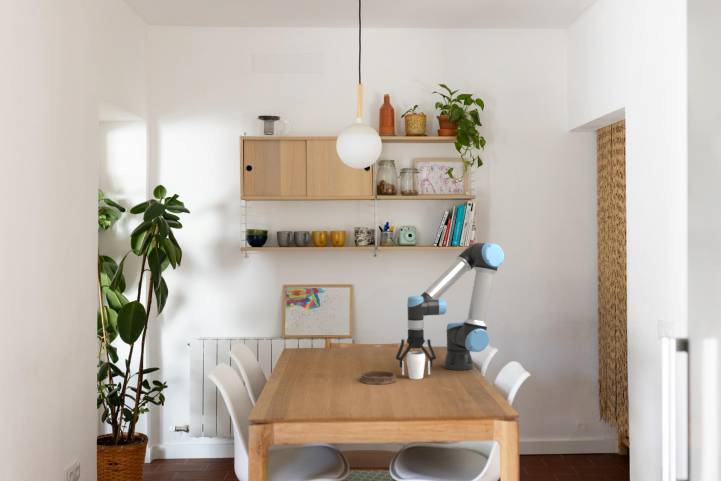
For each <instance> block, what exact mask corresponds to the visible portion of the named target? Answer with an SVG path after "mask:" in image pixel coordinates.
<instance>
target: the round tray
mask: <svg viewBox="0 0 721 481" xmlns="http://www.w3.org/2000/svg"><path fill="white" fill-rule="evenodd" d="M397 381H398V379H397V374H396V373H394V372H392V371H387V370H386V371H385V370H384V371H383V370H376V371H375V370H374V371H373V370H372V371H371V370H370V371H365V372H363V373H361V378H360V382H361V383H362V384H366V385H377V386H378V385H379V386H381V385H383V386H384V385H391V384H395V383H397Z"/></svg>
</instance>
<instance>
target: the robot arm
mask: <svg viewBox="0 0 721 481" xmlns="http://www.w3.org/2000/svg"><path fill="white" fill-rule="evenodd" d="M504 260H505V254H504V250H503V248H501V246H500V245H498V244H497V243H493V242H475V243H473V244H471V245H469V246H467V247H466V248H465V249H464V250H463V251H461V253H459V255H458V256H457V257H456V259H455V261H454V263H452V265H450V266H449V267H448V268H447V269H446V270H445V271H444V272H443V274H442V273H441V275H440V276H439V277H438V278H437V279H436V280H435V281H434V282H433V283H431V285H430V286H429V287H428V288H426V290H425V291H424V292H423V293H421V294H420V295H410V296H408V298H407V305H406V306H407V328H408V329H407V339H403V338H402V339H401V340H400V346H399V348H398V351H397V353H396V356H395V359H396V360H397V361H399V368H401V375H402V376H404V375H405V360H404V359H405V358H406V357H407V353H408V352H410V350H411V349H421V350H422V352H424V353H425V356H426V357H427V358H428V359H427V375H431V368H432V367H433V361H434V360H436V359H437V357H436V355H435V351H434V349H433V347H432V344H431V339H430V338H427V339H425V338H424V337H425V336H424V334H425V332H424V331H425V330H424V322H425V320H424V317H425V316H426V317H427V316H440V315H445V314H446V313H447V309H448V308H447V307H448V305H447V301H446V300H445V299H443V298H442V299H441V297H442V296H443V295H444V294H445V293H446V292H447V291H448V290H449V289H450V288H451V287H452V286H453V285H454V284H456V283H457V281H458V280H460V278H462V277H463V276H464V275H465V273H466V272H470V271H471V270H475V274H474V275H475V276H474V280H473V286H472V292H471V296H470V297H471V298H470V302H469V309H468V313H467V319H466V320H463V322H450V323H447V325H446V354H445V356H444V357H445V359H444V360H443V368H444V369H446V370H447V369H448V370H451V371H467V370H472V369H474V361H473V359H472V355H471V352H472V353H481V352H482V351H484V350H485V349H486V348H487V347H488V346H489V343H490V335H489V334H488V333H489V332H487V330H488V329H487V328H488V325H487V324H486V318H487V311H488V306H489V300H490V294H491V290H492V284H493V278H494V275H495V274H496V273H498V268H499V266H501V265H502V264H503V263H504ZM406 343H407V345H408V346H407V347H406V349H405V350H404V351H403V349H404V345H406ZM424 344H426V345H427V346H428V349H429V351H430V353H431V355H430V354H429V352H428V351H427V350H426V348H425V347H424ZM402 351H403V352H402ZM401 353H402V354H401Z"/></svg>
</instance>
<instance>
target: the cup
mask: <svg viewBox="0 0 721 481" xmlns="http://www.w3.org/2000/svg"><path fill="white" fill-rule="evenodd" d="M405 359H406V366H407V372H408V373H407V374H408V378H409V379H410V380H421V379H423V378H424V374H425V367H426V366H425V365H426V354H425V353H424V351H419V350H416V351H415V350H413V351H409V352H408V353H407V354H406V357H405Z"/></svg>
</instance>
